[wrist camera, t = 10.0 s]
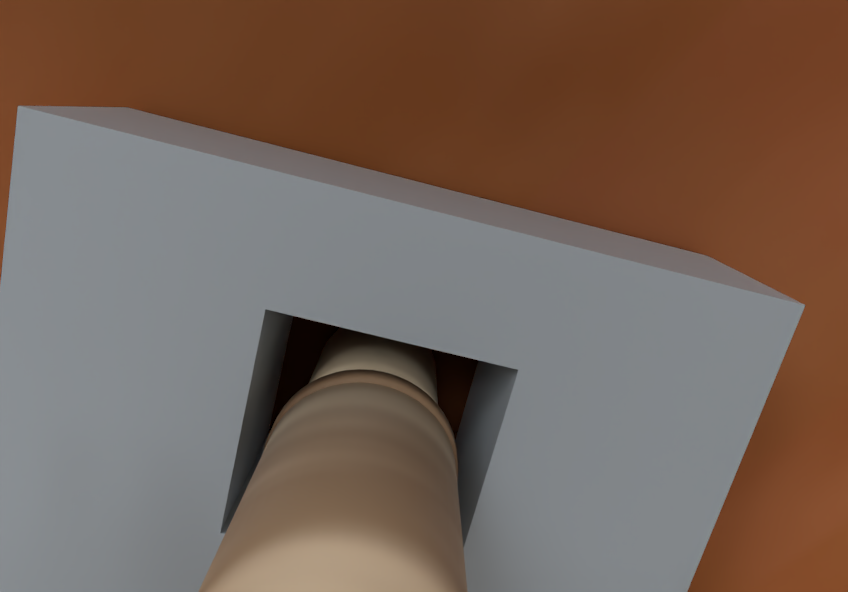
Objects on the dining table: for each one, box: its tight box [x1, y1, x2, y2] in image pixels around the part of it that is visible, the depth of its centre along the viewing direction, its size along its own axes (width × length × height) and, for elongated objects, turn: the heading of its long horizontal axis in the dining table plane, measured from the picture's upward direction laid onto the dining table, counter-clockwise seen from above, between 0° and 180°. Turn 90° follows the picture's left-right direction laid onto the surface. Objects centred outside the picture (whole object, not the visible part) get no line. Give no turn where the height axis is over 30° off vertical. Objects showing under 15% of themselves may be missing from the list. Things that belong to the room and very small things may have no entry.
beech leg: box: [198, 327, 468, 592], centre depth 12 cm, size 4×4×16 cm
